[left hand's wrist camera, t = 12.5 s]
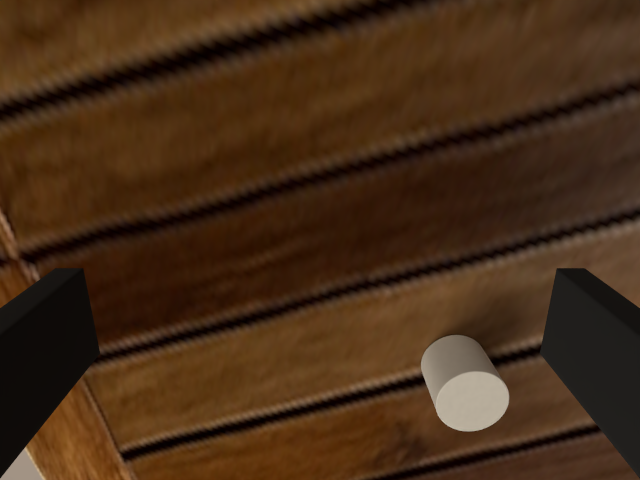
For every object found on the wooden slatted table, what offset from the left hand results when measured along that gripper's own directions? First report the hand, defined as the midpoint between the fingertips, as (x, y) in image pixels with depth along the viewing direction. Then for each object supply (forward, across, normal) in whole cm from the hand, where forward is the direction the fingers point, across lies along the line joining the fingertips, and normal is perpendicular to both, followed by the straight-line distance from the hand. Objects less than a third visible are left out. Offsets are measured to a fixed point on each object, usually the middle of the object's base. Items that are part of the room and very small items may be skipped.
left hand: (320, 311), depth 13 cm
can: (+16, +10, -13) cm, 23 cm away
